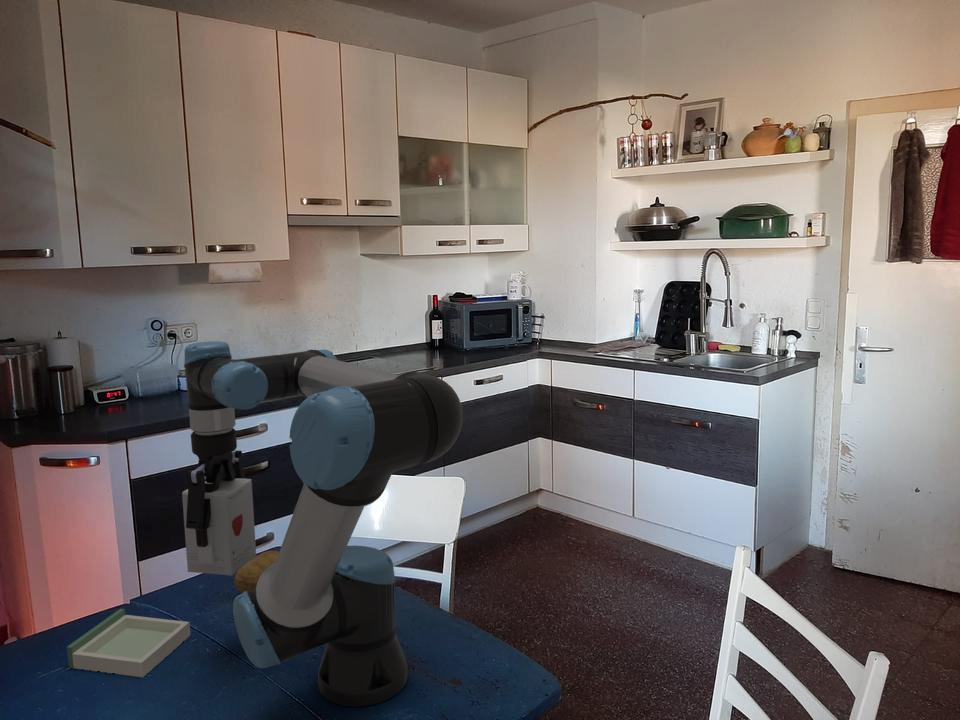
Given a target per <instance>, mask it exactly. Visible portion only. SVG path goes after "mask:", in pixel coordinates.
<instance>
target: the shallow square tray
mask: <svg viewBox="0 0 960 720" xmlns="http://www.w3.org/2000/svg"><path fill="white" fill-rule="evenodd" d="M190 625H191V624H190V622H189V621H184V620H183V621H182V620H175V619H174V620H173V619H165V618H156V617H150V616H149V617H148V616H139V615H133V614H131V615H130V614H126V609H125V608H119V609H118V610H115V612H113V613H112V614H110V615H109V616H107V617H106V618H105V619H103V621H101V622H100V623H98V624H97V625H95V626H93V628H90V630H88V631H87V632H85V633H84V634H83V635H81V636H80V637H79V638H77V639H76V640H74V641H72V642H71V643H70V644H69V645H67V646H66V652H67V660H68V668H69V669H77V670H82V669H83V670H84V671H90V670H91V672H97V671H100V672H99V673H105V672H106V674H112V673H115V674H114V675H121V676H128V677H136V678H144V677H145V676H146V675H148V674H149V673H150V672H151V671H152V670H153V669H154V668H156V666H158V665H159V664H160V663H161V662H162V661H163V660H165V659H166V658H167V657H168V656H169V655H170V654H172V653H173V652H174V651H175V650H176V649H177V648H178V647H180V645H181V644H183V643H184V642H185V641H186V640H187V639H189V638H190V637H191V627H190ZM183 641H184V642H183ZM182 642H183V643H182ZM173 650H174V651H173ZM165 657H166V658H165ZM83 670H82V671H83ZM147 673H148V674H147Z"/></svg>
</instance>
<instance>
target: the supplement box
mask: <svg viewBox="0 0 960 720" xmlns="http://www.w3.org/2000/svg"><path fill="white" fill-rule="evenodd" d="M205 484H212V483H207V482H206V481H205ZM181 497H182V509H183V511H182V512H183V526H184V538H185V540H184V541H185V552H186V553H185V554H186V564H187V567H186V568H187V572H188V573H198V574H199V573H200V574H210V575H211V574H212V575H219V576H220V575H223V576H234V574H235V575H236V574H237V572H238V570H240V569H241V568H242V567H243V566H244V565H246V564H247V563H248V562H249V561H250V560H251V559H253V558H255V557H256V556H257V545H256V529H255V516H254V514H255V513H254V499H253V498H254V496H253V481H252V479H251V478H246V479H242V478H235V479H234V480H232V481H223V480H221V481H220V484H219V488H218V489H217V490H215V491H213V492H212V493H205V497H204V499H210V505H211V518H210V523H209V526H212V527H213V540H214V553H215V562H214V563H213V564H211V563H199V558H198V546H197V542H196V531H195V529H189V528H186V518H187V501H188V488H187V489H185V490H183V491H182V493H181ZM203 521H204V520H203Z"/></svg>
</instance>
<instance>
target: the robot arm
mask: <svg viewBox="0 0 960 720" xmlns="http://www.w3.org/2000/svg"><path fill="white" fill-rule="evenodd" d="M183 368H184V370H185V371H184V372H185V381H186V383H185V384H186V393H187V394H186V395H187V403H188V405H187V406H188V410H189V411H188V413H189V428H190V430H191V431H192V432H191V434H190V441H191V443H190V444H191V445H190V446H191V452H192V454H194V455H196V456H197V457H198V463H197V468H196V469H194V470H189V469H188V470H187V472H186V476H187V483H188V484H187V489H188V501H187V518H186V528H189V529H195V531H196V542H197V546H198V558H199V563H211V564H213V563H214V562H215V553H214V540H213V527H212V526H209V523H210V518H211V505H210V499H204V497H205V493H212V492H213V491H215V490H217V489H218V488H219V484H220V481H221V480H223V481H232V480H234V479H235V478H242V479H247V478H246V473H245V470H244V469H245V468H244V464H243V452H242V450H237V447H238V442H237V441H238V440H237V430H236V429H235V427H236V415H235V414H236V411H235V410H251V409H254V408H255V407H257V406H258V405H259V404H261V403H262V402H268V401H274V400H278V399H285V398H291V397H298V396H302V397H304V398H305V399H304V400H303V401H302V402H301V403H300V404H299V406H298V407H297V409H296V410H295V412H294V415H293V418H292V420H291V424H290V429H289V439H290V440H291V444H289V453H290V458H291V463H292V465H293V468H294V471H295V472H296V474H297V476H298V477H299V479H300V480H301V481H302V483H303V485H302V488H301V491H300V494H299V496H298V500H297V503H296V504H295V507H294V510H293V513H292V516H291V518H290V521H289V524H288V528H287V530H286V532H285V536H284V538H283V540H282V543H281V547H280V550H279V551H278V552H279V554H278V557H277V560H276V563H274V564H272V565H271V566H269V567H268V568H267V569H266V570H265V571H264V572H263V573H262V574H261V576H260V578H259V580H258V582H257V585H256V588H255V589H254V590H252V591H249V592H247V591H245V592H243V593H240V594H238V595H236V596H235V597H234V599H233V602H232V614H233V620H234V625H235V628H236V629H235V630H236V632H237V633H236V634H237V636H238V639H239V641H240V643H241V646H242V648H243V652H244V653H245V654H246V656H247V658H248V660H249V661H250V662H251V663H252V665H254V666H255V667H256V668H258V669H266V668H269V667H273V666H276V665H281V664H282V662H286V661H288V660H290V659H292V658H295V657H297V656H300V655H302V654H304V653H307V652H309V651H312V650H314V649H316V648H320V647H321V646H324V645H325V646H324V647H325V648H324V651H323V655H322V658H321V660H320V664H319V668H318V672H317V674H318V675H317V681H318V690H319V693H321V695H322V696H323V697H324V698H325V699H326V700H327V701H329V702H331V703H332V704H333V703H334V704H336V705H339V706H344V707H357V708H358V707H367V706H373V705H377V704H381V703H384V702H385V701H388V700H390V699H391V698H393V697H394V696H396V695H397V694H399V693H400V692H401V691H402V689H404V687H405V686H406V684H407V681H408V664H407V660H406V657H405V654H404V652H403V649H402V647H401V644H400V640H399V639H398V635H397V628H396V625H397V624H396V622H397V621H396V594H395V593H396V592H395V588H396V587H395V583H396V576H395V568H394V562H393V560H392V558H391V557H390V555H389V554H387V553H386V552H384V551H383V550H380V549H378V548H376V547H371V546H365V545H348V544H349V543H350V540H351V537H352V535H353V533H354V530H355V528H356V526H357V524H358V522H359V520H360V518H361V516H362V513H363V510H364V508H365V507H367V506H370V505H372V504H373V503H374V502H376V501H377V500H378V499H380V497H381V496H382V495H383V493H384V491H385V489H386V488H387V485H388V483H389V481H390V479H391V476H392V475H393V474H394V473H396V472H399V471H402V470H405V469H406V470H407V469H409V468H414V467H417V466H421V465H424V464H427V463H431V462H434V461H435V460H438V459H439V458H441V457H442V456H443V455H445V454H446V453H447V452H448V451H449V450H451V448H452V447H453V446H454V444H455V443H456V442H457V440H458V437H459V436H460V434H461V432H462V431H461V430H462V426H463V417H464V413H463V407H462V403H461V400H460V398H459V396H458V394H457V393H456V391H455V390H454V389H453V387H452V386H451V385H450V384H449V383H448V382H446V381H445V380H443V379H441V378H439V377H437V376H433V375H430V374H426V373H422V372H418V371H405V372H402V373H399V374H397V373H396V374H395V373H392V372H389V371H383V370H379V369H375V368H372V367H367V366H363V365H359V364H354V363H351V362H347V361H344V360H343V361H342V360H338V358H337V356H335V355H334V354H333V352H332V351H331V350H328V349H307V350H304V351H298V352H290V353H282V354H273V355H264V356H257V357H255V356H254V357H248V358H239V359H233V358H232V354H231V349H230V345H229V344H228V343H227V342H226V341H220V340H219V341H217V340H216V341H213V340H210V341H199V342H193V343H189V344H188V345H186V346H185V348H184V364H183ZM205 481H206V482H207V483H212V484H205ZM203 520H204V521H203Z"/></svg>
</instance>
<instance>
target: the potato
mask: <svg viewBox="0 0 960 720" xmlns="http://www.w3.org/2000/svg"><path fill="white" fill-rule="evenodd" d="M279 552H280V551H279V550H278V551H277V550H267V551H263V552H262V553H260V554H257V555H256V556H255V557H254V558H253V559H251V560H250V561H249V562H248V563H247V564H246V565H244V566H243V567H242V568H241V569H240V570H238V571H237V572H236V573H235V577H234V582H233V584H234V586H235V588H236V590H237V591H238V592H239V593H240V594H242V593H243V592H245V591H247V592H249V591H252V590H254V589H255V588H256V585H257V582H258V580H259V578H260V576H261V574H262V573H263V572H264V571H265V570H266V569H267V568H268V567H269V566H271V565H272V564H274V563H276V560H277V557H278V554H279Z"/></svg>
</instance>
